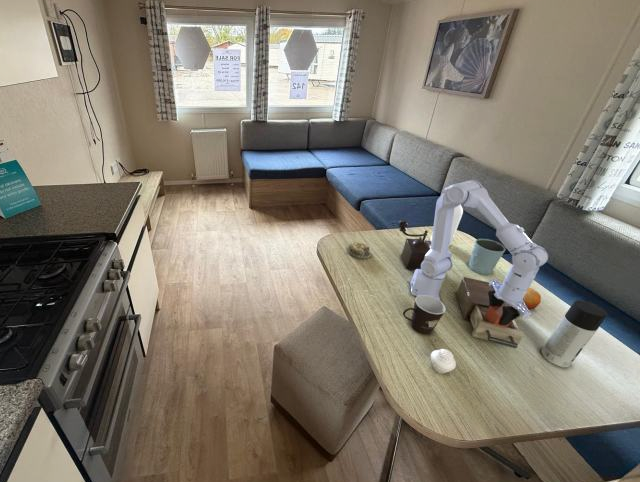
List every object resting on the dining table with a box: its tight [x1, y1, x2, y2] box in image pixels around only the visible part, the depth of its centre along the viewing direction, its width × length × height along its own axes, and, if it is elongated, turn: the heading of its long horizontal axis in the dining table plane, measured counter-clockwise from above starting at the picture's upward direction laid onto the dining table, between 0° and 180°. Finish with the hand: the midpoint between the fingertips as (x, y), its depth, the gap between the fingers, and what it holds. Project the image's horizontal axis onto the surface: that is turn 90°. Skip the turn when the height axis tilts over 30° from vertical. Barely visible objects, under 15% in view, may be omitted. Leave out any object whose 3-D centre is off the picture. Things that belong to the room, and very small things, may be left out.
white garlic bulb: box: [430, 348, 457, 374], centre depth 86 cm, size 6×6×7 cm
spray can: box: [541, 299, 608, 368], centre depth 87 cm, size 7×7×20 cm
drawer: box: [469, 305, 525, 349], centre depth 98 cm, size 18×11×6 cm, turn 159°
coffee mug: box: [402, 295, 447, 336], centre depth 99 cm, size 12×9×10 cm
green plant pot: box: [468, 238, 507, 276], centre depth 128 cm, size 10×10×12 cm
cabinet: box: [456, 276, 510, 322], centre depth 107 cm, size 15×13×8 cm
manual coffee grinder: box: [397, 219, 431, 271], centre depth 129 cm, size 16×11×18 cm
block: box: [485, 306, 510, 327], centre depth 96 cm, size 4×4×4 cm
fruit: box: [523, 287, 542, 311], centre depth 110 cm, size 8×8×8 cm
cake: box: [347, 241, 372, 259], centre depth 138 cm, size 10×10×5 cm
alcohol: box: [430, 204, 464, 247], centre depth 142 cm, size 9×9×30 cm
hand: (497, 318), depth 96 cm, fingers closed on block, 4 cm apart
